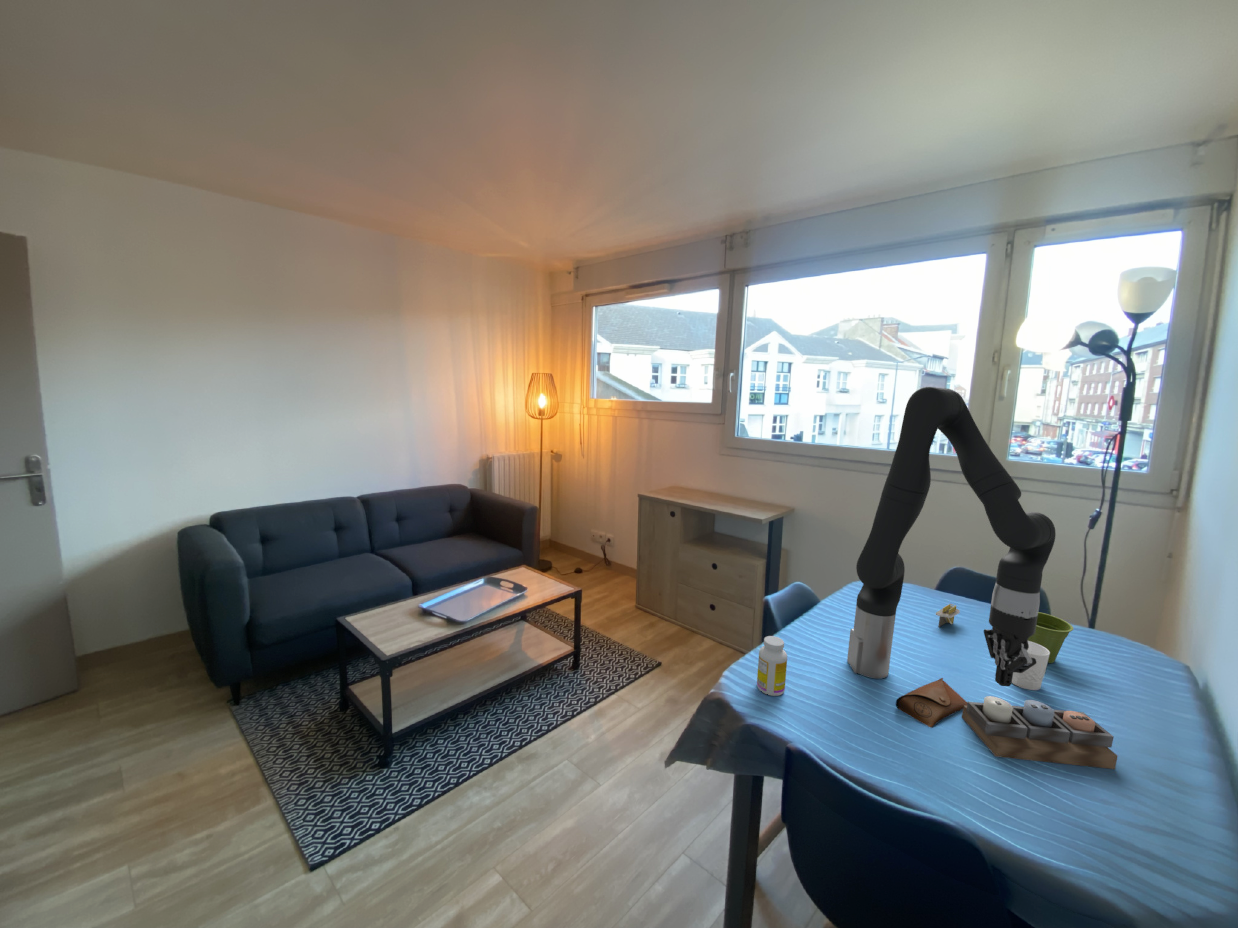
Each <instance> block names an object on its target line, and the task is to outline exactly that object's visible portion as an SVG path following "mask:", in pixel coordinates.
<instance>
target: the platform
mask: <svg viewBox="0 0 1238 928" xmlns="http://www.w3.org/2000/svg"><path fill="white" fill-rule="evenodd" d="M960 612H961V610H960V609H958V608H957V605H955V604H953V603H949V604H946V606H944V607H943V608H941V609H940V610H938V611H936V612H935V616H937V617H939V620H938V626H937V627H938V628H940V627H942V626H944V625H945V624H951V625H953V624H954V622H955V621H954V620H955V617H956V616H957V615H959V614H961V613H960Z"/></svg>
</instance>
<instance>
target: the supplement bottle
mask: <svg viewBox="0 0 1238 928" xmlns="http://www.w3.org/2000/svg"><path fill="white" fill-rule="evenodd" d="M787 665H788V654H787V652H786V651H785V641H784V640H783V639H782V638H781V637H778V636H774V635H768V636H765V637H764V638H763V646H761V647H760V649H759V650H758V664H757V675H756V676H757V678H756V686H757V688H758V690H759V691H760V692H761V691H762V692H761V693H763V694H765V695H767V694H768V696H770V697H777V696H781V695H782V694H784V693H785V690H786V679H787V667H788V666H787Z"/></svg>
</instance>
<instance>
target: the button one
mask: <svg viewBox="0 0 1238 928" xmlns="http://www.w3.org/2000/svg"><path fill="white" fill-rule="evenodd" d="M983 699H984V700H983V703H984V704H983V710H982V712H983V714H984V715H985V716H986V717H987V718H989V719H991V720H993V721H995V722H998V723H1004V724H1008V723H1010V721H1011V716H1012V710H1013V707H1012V706H1013V705H1011V703H1010V702H1008V701H1006V700H1004V699H1002V698H999V697H996V696H990V695H988V696H985V697H984V698H983Z"/></svg>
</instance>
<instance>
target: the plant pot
mask: <svg viewBox="0 0 1238 928" xmlns="http://www.w3.org/2000/svg"><path fill="white" fill-rule="evenodd" d="M1073 630H1074V626H1073V625H1072V624H1071V623H1069V622H1068V621H1066V620H1064V619H1062V618H1060V617H1057V616H1054V615H1052V614H1049V613H1044V612H1039V611H1038V617H1037V623H1036V630H1035V634H1034V635H1032V636H1031V637H1029V638H1028V641H1031V642H1034V643H1037V644H1039V645H1041V646H1043V647H1045V648H1046V649H1048V650H1049V652H1050V655H1049V659H1048V663H1049V664H1053V663H1054V662H1055V661H1056V659H1057V657H1058V656H1059V652H1060V651H1061V648H1062V646H1063V645H1064V642H1065V640H1066V638H1068V636H1069V635H1070V632H1072V631H1073ZM1048 663H1047V664H1048Z"/></svg>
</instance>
